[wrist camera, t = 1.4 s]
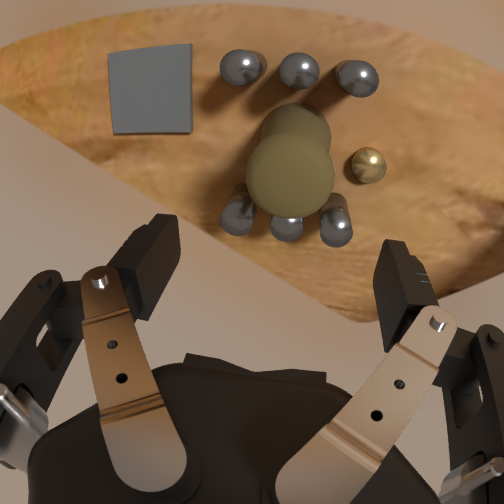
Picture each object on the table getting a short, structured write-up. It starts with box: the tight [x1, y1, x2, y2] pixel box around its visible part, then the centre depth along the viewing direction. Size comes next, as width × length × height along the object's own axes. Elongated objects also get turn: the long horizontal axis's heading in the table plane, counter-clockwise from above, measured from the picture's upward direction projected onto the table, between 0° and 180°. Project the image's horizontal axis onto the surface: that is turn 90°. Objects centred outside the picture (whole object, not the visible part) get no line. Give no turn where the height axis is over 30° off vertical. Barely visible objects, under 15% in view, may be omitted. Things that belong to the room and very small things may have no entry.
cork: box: [245, 103, 335, 219], centre depth 21 cm, size 6×6×11 cm
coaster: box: [108, 44, 193, 133], centre depth 25 cm, size 8×8×1 cm
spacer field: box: [220, 49, 379, 247], centre depth 24 cm, size 11×15×5 cm
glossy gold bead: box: [351, 147, 387, 184], centre depth 26 cm, size 3×3×1 cm
